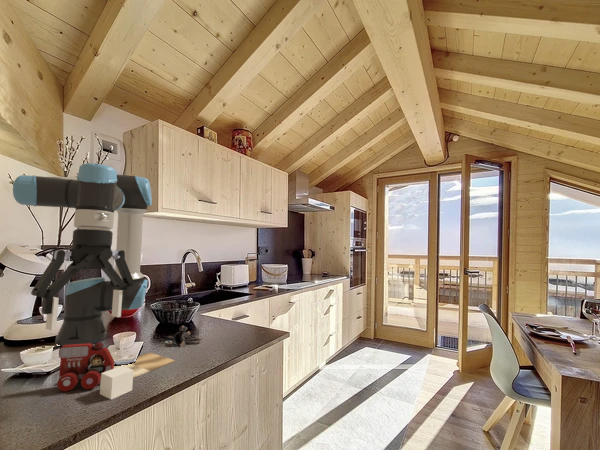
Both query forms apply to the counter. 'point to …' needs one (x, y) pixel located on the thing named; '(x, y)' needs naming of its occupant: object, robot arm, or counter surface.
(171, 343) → the stuffed animal
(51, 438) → the counter surface
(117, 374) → the cream white cube
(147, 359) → the board
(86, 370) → the toy fire truck
